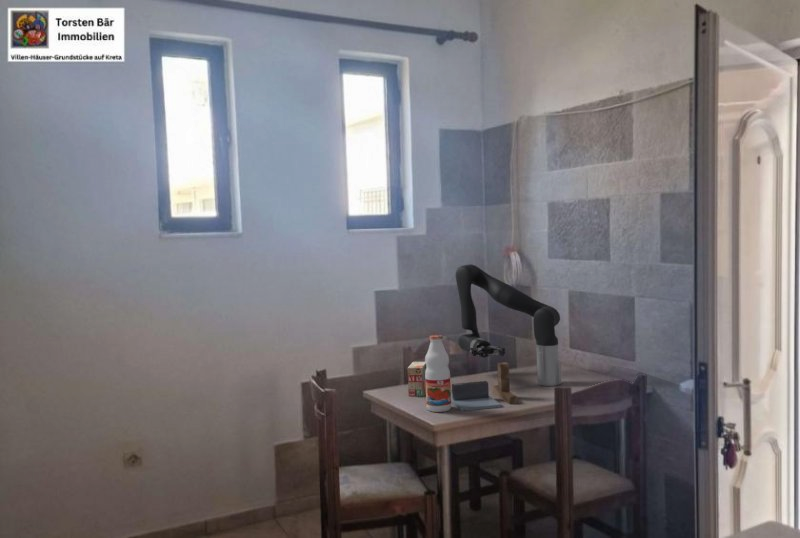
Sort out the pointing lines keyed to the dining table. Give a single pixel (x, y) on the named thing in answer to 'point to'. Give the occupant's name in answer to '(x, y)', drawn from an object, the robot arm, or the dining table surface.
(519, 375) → the dining table surface
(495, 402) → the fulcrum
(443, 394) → the fruit juice
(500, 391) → the walnut beam
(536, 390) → the dining table surface
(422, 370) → the cardboard food box
